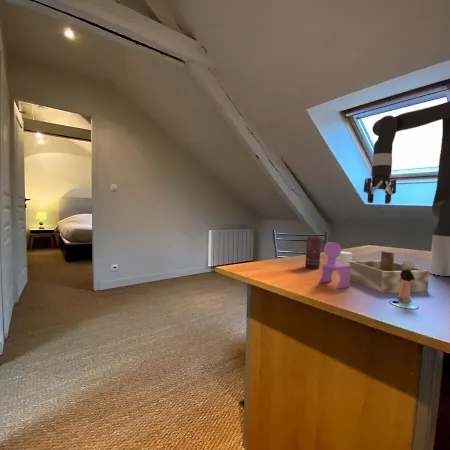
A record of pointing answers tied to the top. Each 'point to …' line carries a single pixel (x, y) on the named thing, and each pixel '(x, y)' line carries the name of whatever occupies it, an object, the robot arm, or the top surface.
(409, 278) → the grandmother figurine
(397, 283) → the crate
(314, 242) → the can
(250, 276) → the top surface
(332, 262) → the toy chair
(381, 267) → the peg
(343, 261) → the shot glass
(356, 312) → the top surface
